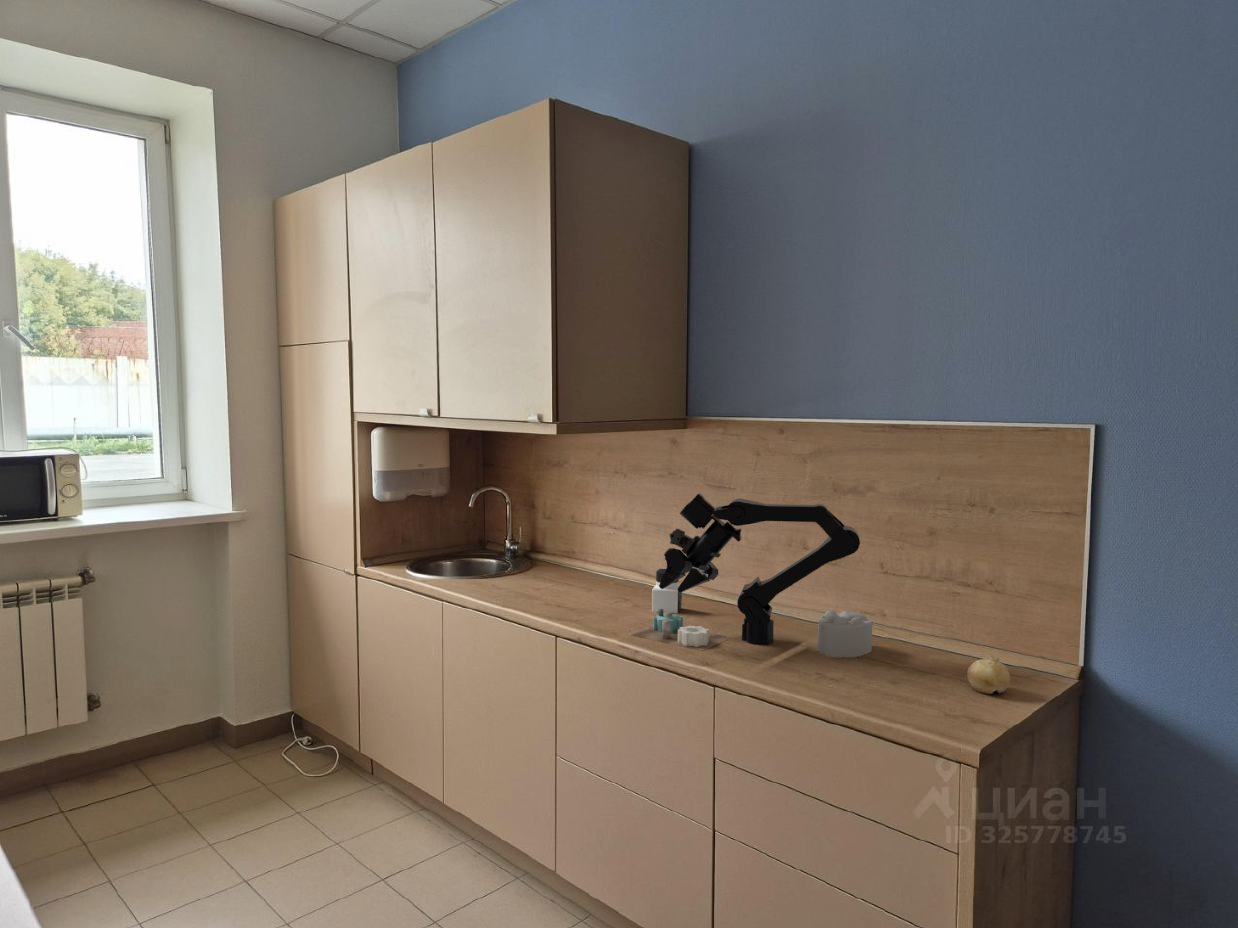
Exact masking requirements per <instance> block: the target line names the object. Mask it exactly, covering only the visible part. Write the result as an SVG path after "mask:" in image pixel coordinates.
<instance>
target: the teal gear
mask: <svg viewBox="0 0 1238 928" xmlns="http://www.w3.org/2000/svg"><path fill="white" fill-rule="evenodd" d="M664 620H668V621H671V628H670V633H673V632H678V630H679V628H680V627H684V625H683V624H684V617H683V616H681V615H678V613H672V618H665V617H664V612H663V609H659V612H658V614H655V615H654V616H653V626H652V627H653V629H654V630H658V632H662V621H664Z"/></svg>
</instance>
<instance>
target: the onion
mask: <svg viewBox="0 0 1238 928" xmlns="http://www.w3.org/2000/svg"><path fill="white" fill-rule="evenodd" d="M999 660H1000V658H999V657H998V656H993V654H992V653H991V654H990V658H982V659H977V660H976V661H973V663H971V664H970V666H969V667H968V669H967V672H966V676H967V680H968V683H969V684H970V686H971V688H972V689H973V690H975V691H976V692H979V693H981V694H985V695H986V694H987V695H994V694H995V693H994V692H996V693H998V694H1001V693H1004V692H1005V691H1006V690H1007V689H1008V687H1009V686H1010V683H1011V674H1010V673H1009V670H1008V668H1007V667H1006V666H1005V665H1004V664H1003V663H1002V662H1000V661H999Z"/></svg>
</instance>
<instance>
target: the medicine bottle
mask: <svg viewBox="0 0 1238 928" xmlns="http://www.w3.org/2000/svg"><path fill="white" fill-rule="evenodd" d="M666 568H667V567H662V568H659V569H656V571H655V572H656V573H655V576H656V577H655V585H654V586H653V588H652V589H651V594H652V595H651V612H652V613H654V612H655V613H659V609H663V613H665V612H671V613H672V614H679V612H680V611H681V609H682V600H683V596H682V594H683V592H681V593H679V592H678V590H677V589H678V588H679V586H680V584H679V580H677V581H676V582H674V583H672V584H671V585H669V586H667V587H666V588H664V589H661V588H660V587H659V585H660V582H661V580H662V578H663V575H664V573H665V571H666Z"/></svg>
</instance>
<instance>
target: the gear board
mask: <svg viewBox="0 0 1238 928" xmlns="http://www.w3.org/2000/svg"><path fill="white" fill-rule="evenodd" d="M663 614H664V617H665V618H672V614H673V613H671V612H663ZM670 628H671V621H668V620H664V621H662V632H658V630H654V629H653V626H652V627H649V628H647V629H644V630H641V631H639V632H636V633H632V634H630V636H631V637H636V638H640V639H645V640H650V641H654V642H659V643H662V644H667V645H672V646H678V647H683V648H686V649H691V650H695V651H701V652H702V651H704V650H707V649H709V648H711V647H713V646H716V645H719V644H721V643H723V642H725V641H727V640H730V639H732V636H727V635H722V634H717V633H711V632H709V642H707V645H706V646H705V645H702V646H699V647H694V646H683V644H681V643H678V632H673V633H670Z"/></svg>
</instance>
